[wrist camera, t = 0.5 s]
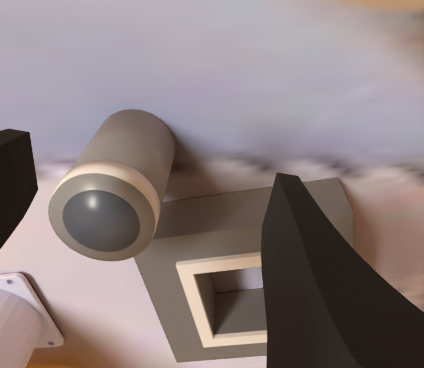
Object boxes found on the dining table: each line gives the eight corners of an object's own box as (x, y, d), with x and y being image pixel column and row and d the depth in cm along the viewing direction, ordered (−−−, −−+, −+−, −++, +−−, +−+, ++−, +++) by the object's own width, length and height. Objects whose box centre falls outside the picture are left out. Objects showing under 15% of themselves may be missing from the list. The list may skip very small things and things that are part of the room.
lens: (112, 184, 24) (71, 268, 18) (85, 116, 21) (27, 185, 15) (184, 173, 23) (167, 256, 17) (164, 101, 21) (136, 168, 15)
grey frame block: (182, 320, 30) (176, 366, 27) (140, 205, 24) (126, 246, 21) (342, 305, 28) (357, 352, 25) (338, 177, 23) (355, 217, 19)
